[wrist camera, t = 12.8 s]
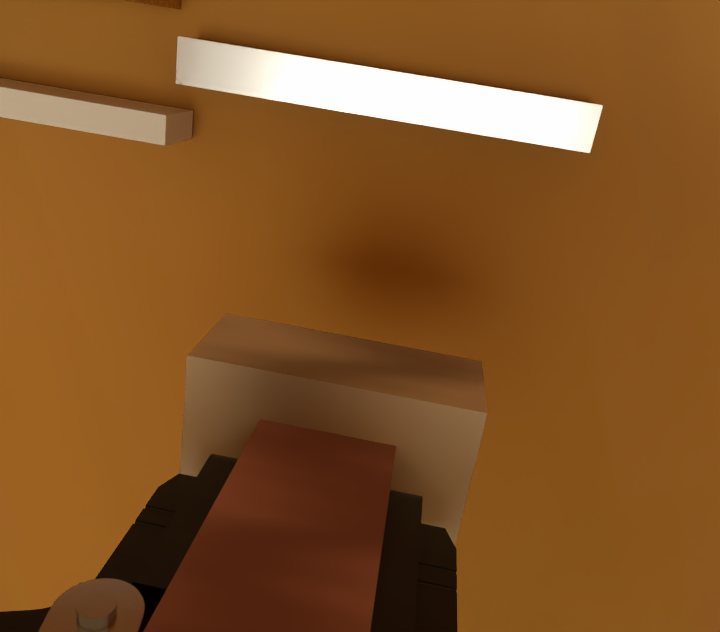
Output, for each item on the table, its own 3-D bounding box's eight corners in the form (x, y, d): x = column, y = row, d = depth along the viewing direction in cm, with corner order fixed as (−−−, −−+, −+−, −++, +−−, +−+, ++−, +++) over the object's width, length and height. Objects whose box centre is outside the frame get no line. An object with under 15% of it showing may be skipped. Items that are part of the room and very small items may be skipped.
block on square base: (481, 361, 15) (519, 675, 7) (439, 538, 17) (431, 947, 9) (226, 313, 15) (-6, 560, 8) (211, 491, 17) (10, 844, 9)
